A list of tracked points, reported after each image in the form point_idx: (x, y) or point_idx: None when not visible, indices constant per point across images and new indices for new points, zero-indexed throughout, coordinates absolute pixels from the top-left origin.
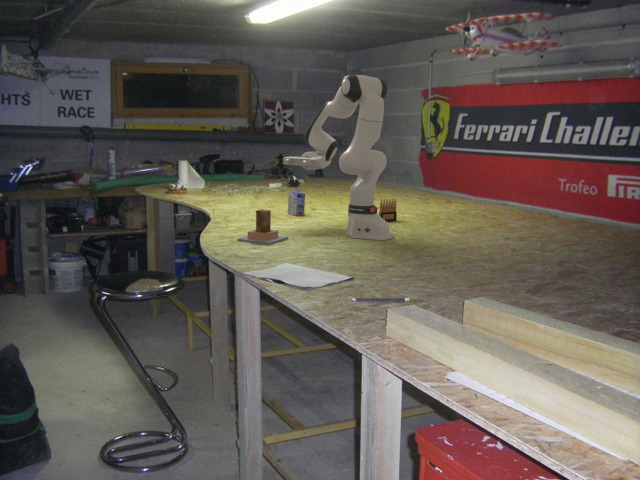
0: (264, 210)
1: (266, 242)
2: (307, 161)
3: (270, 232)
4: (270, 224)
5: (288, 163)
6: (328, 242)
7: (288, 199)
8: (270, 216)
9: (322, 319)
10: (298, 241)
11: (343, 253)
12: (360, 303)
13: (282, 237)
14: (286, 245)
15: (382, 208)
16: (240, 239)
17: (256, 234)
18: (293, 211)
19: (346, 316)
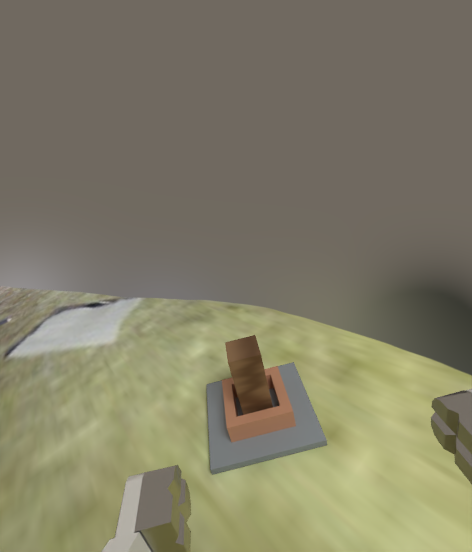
0: (239, 349)
1: (212, 383)
2: (117, 541)
3: (225, 396)
4: (238, 396)
5: (436, 437)
6: (72, 542)
7: None
8: (232, 377)
9: (36, 290)
10: None
11: (17, 452)
12: (3, 317)
13: (220, 450)
14: (172, 415)
15: None
16: (284, 365)
17: None
18: None
19: (17, 300)
